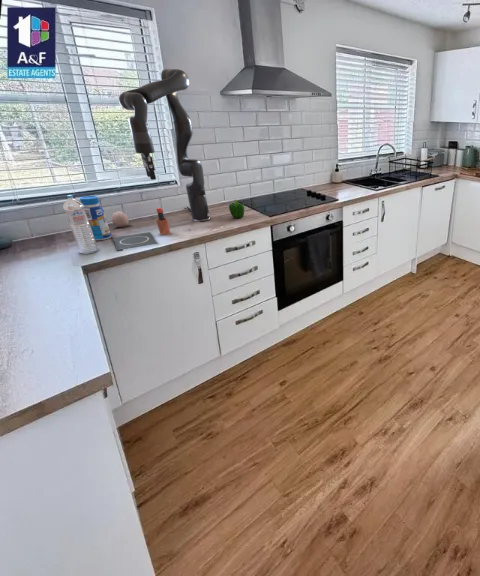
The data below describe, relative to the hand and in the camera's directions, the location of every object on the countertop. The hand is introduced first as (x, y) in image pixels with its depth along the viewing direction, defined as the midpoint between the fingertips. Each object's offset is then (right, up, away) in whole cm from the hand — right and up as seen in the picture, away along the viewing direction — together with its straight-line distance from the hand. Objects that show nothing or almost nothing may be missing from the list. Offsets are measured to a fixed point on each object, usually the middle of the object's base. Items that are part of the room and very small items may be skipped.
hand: (151, 178), depth 176 cm
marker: (-1, -25, +12) cm, 28 cm away
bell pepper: (+24, -7, +42) cm, 49 cm away
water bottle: (-21, -36, -11) cm, 43 cm away
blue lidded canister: (-28, -28, +5) cm, 40 cm away
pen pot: (-1, -25, +13) cm, 28 cm away
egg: (-29, -20, +21) cm, 41 cm away
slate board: (-9, -30, +2) cm, 32 cm away
